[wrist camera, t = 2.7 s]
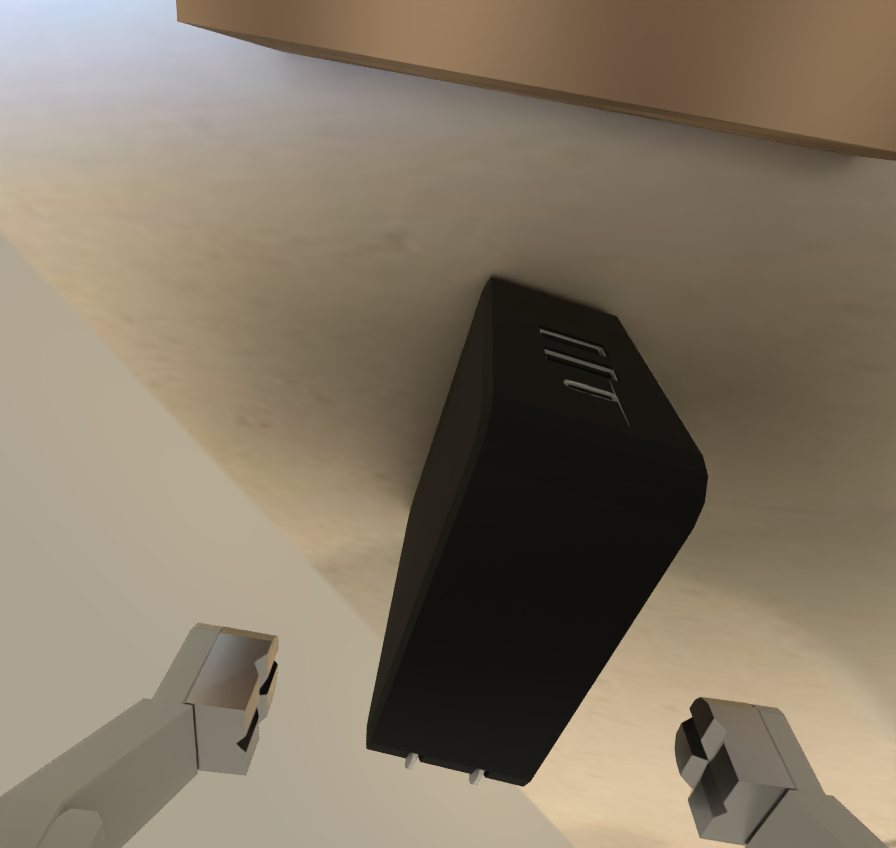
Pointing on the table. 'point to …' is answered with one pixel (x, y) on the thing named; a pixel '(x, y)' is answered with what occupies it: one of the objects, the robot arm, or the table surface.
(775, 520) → the table surface
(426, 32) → the walnut box
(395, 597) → the electronic device
